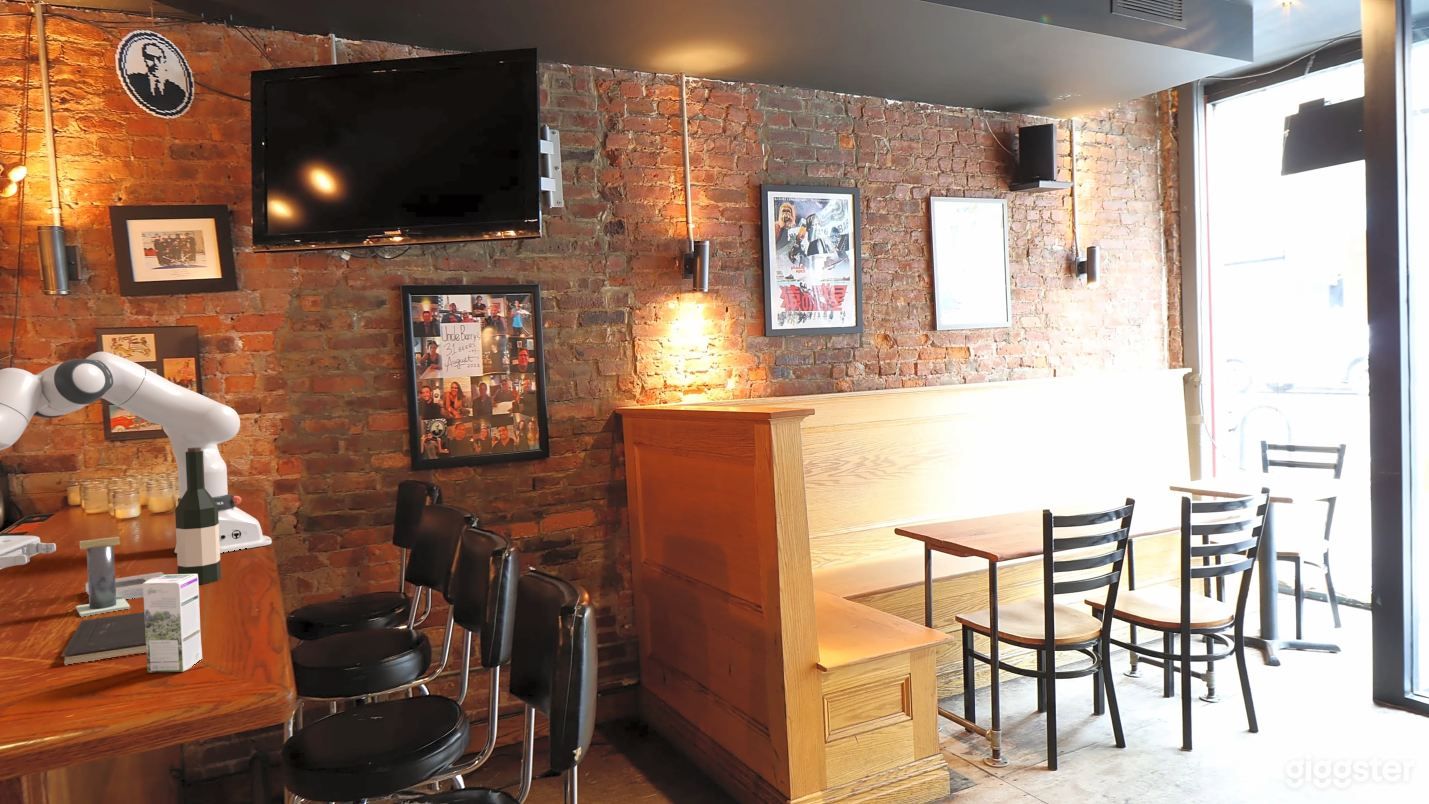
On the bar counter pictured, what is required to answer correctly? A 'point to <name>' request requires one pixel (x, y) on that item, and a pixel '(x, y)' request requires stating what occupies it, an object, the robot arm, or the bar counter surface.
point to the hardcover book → (107, 638)
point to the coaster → (86, 611)
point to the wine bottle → (197, 525)
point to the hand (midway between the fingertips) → (41, 553)
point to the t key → (101, 571)
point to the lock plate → (131, 585)
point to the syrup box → (172, 622)
